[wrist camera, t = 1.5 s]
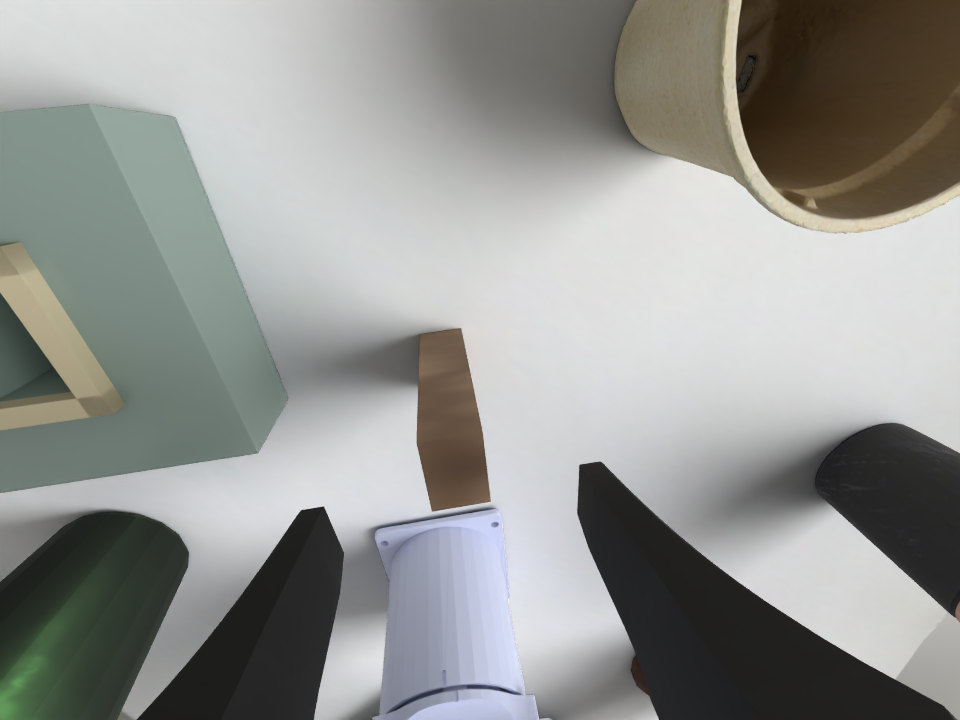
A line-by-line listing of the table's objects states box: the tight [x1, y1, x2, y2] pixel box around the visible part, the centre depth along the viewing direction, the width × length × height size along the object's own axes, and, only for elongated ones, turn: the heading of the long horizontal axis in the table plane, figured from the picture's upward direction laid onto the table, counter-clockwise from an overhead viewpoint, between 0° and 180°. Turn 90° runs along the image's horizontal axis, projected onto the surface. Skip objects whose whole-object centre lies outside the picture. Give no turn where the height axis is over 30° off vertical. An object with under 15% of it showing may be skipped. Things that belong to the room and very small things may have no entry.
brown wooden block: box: [417, 328, 491, 511], centre depth 16 cm, size 2×3×8 cm, turn 5°
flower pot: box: [614, 0, 960, 234], centre depth 11 cm, size 9×9×9 cm
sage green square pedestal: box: [0, 104, 288, 493], centre depth 14 cm, size 12×12×5 cm
